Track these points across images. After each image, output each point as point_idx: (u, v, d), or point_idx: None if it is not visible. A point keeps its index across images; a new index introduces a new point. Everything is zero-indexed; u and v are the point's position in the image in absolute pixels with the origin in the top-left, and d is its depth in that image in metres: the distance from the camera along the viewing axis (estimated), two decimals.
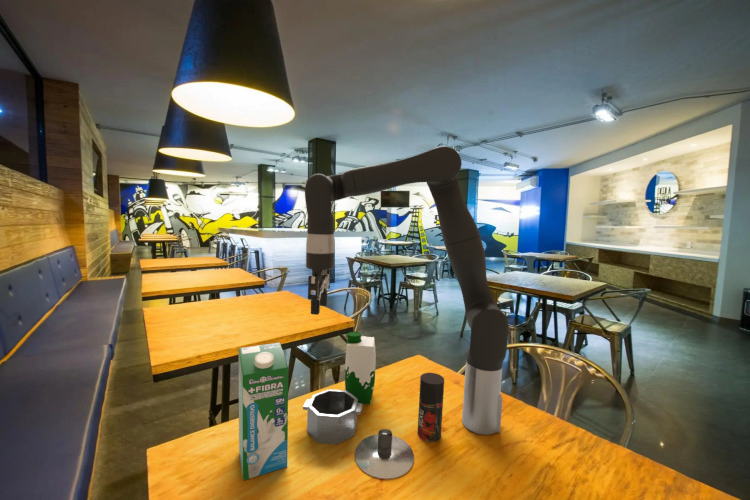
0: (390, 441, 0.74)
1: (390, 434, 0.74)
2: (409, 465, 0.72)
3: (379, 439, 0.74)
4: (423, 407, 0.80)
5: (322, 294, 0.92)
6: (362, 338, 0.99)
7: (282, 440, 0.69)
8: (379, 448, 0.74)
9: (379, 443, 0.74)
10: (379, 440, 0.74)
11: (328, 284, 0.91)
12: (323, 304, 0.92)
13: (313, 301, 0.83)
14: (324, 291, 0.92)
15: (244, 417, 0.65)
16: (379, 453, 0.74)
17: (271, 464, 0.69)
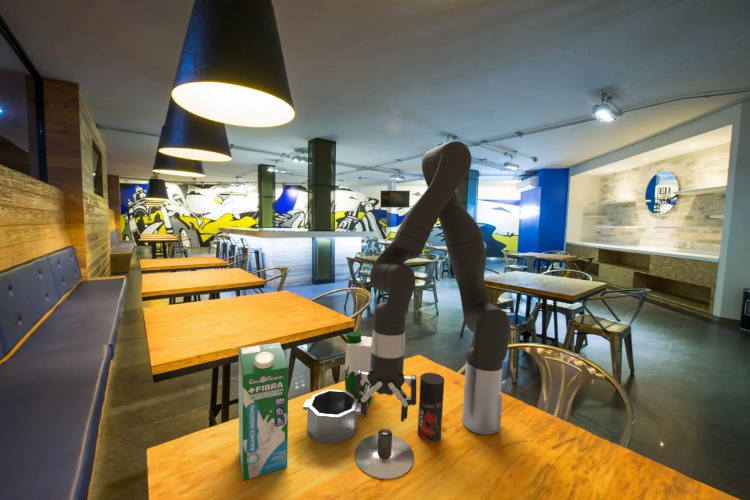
0: (390, 441, 0.74)
1: (390, 434, 0.74)
2: (409, 465, 0.72)
3: (379, 439, 0.74)
4: (423, 407, 0.80)
5: (367, 402, 0.74)
6: (362, 338, 0.99)
7: (282, 440, 0.69)
8: (379, 448, 0.74)
9: (379, 443, 0.74)
10: (379, 440, 0.74)
11: None
12: None
13: None
14: None
15: (244, 417, 0.65)
16: (379, 453, 0.74)
17: (271, 464, 0.69)
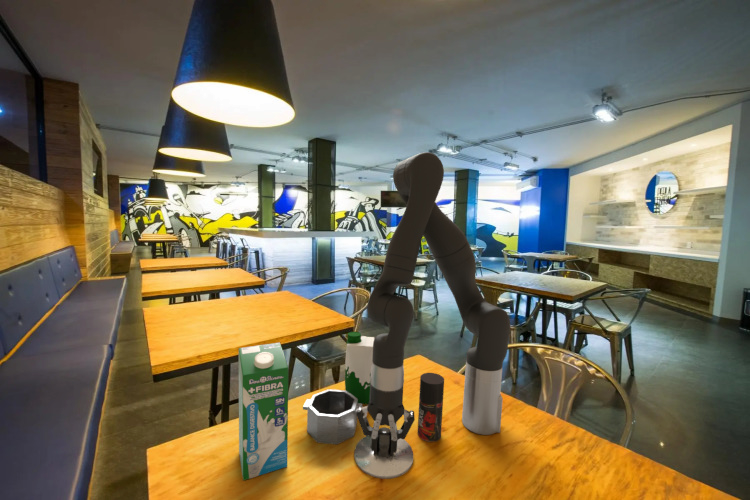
0: (390, 439, 0.74)
1: (390, 432, 0.74)
2: (409, 463, 0.72)
3: (379, 437, 0.74)
4: (423, 407, 0.80)
5: (377, 438, 0.75)
6: (362, 338, 0.99)
7: (282, 440, 0.69)
8: (379, 446, 0.74)
9: (379, 441, 0.74)
10: (379, 438, 0.74)
11: None
12: None
13: None
14: (377, 433, 0.75)
15: (244, 417, 0.65)
16: (379, 451, 0.74)
17: (271, 464, 0.69)
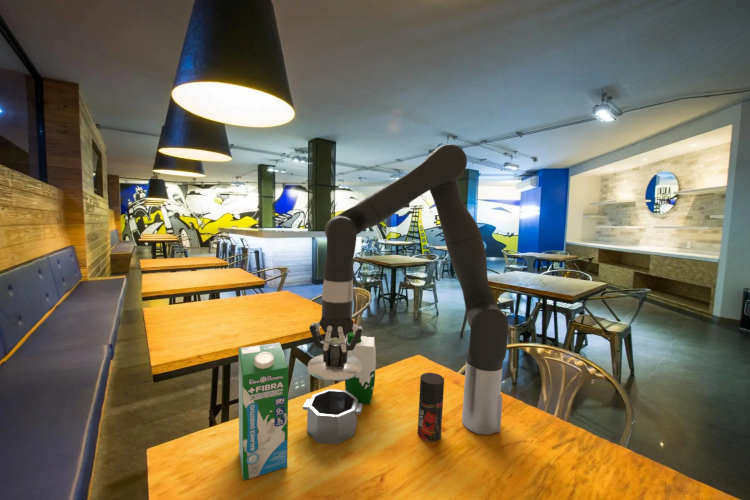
0: (340, 351, 0.80)
1: (340, 345, 0.81)
2: (356, 371, 0.79)
3: (330, 349, 0.81)
4: (423, 407, 0.80)
5: None
6: (362, 338, 0.99)
7: (282, 440, 0.69)
8: (330, 358, 0.81)
9: (330, 353, 0.81)
10: (330, 350, 0.80)
11: None
12: None
13: (347, 351, 0.81)
14: None
15: (244, 417, 0.65)
16: (330, 362, 0.81)
17: (271, 464, 0.69)
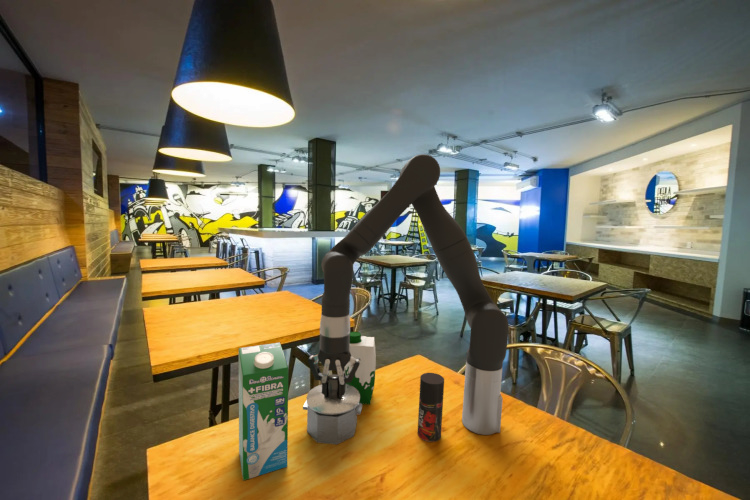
0: (338, 384, 0.82)
1: (338, 378, 0.83)
2: (353, 404, 0.80)
3: (328, 382, 0.82)
4: (423, 407, 0.80)
5: (327, 383, 0.83)
6: (362, 338, 0.99)
7: (282, 440, 0.69)
8: (328, 390, 0.82)
9: (328, 385, 0.82)
10: (328, 383, 0.82)
11: None
12: None
13: (345, 383, 0.83)
14: (327, 379, 0.84)
15: (244, 417, 0.65)
16: (328, 394, 0.82)
17: (271, 464, 0.69)
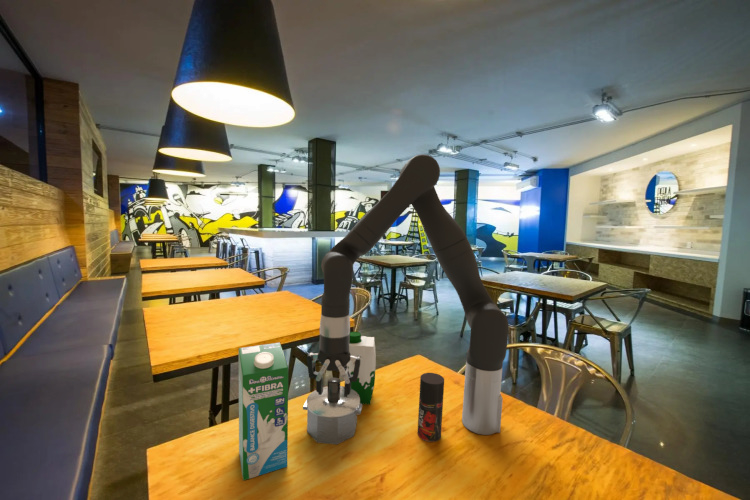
0: (338, 387, 0.82)
1: (338, 381, 0.83)
2: (354, 407, 0.80)
3: (328, 385, 0.82)
4: (423, 407, 0.80)
5: (322, 381, 0.83)
6: (362, 338, 0.99)
7: (282, 440, 0.69)
8: (328, 393, 0.82)
9: (328, 389, 0.82)
10: (328, 386, 0.82)
11: None
12: (322, 391, 0.84)
13: (350, 382, 0.82)
14: None
15: (244, 417, 0.65)
16: (328, 398, 0.82)
17: (271, 464, 0.69)
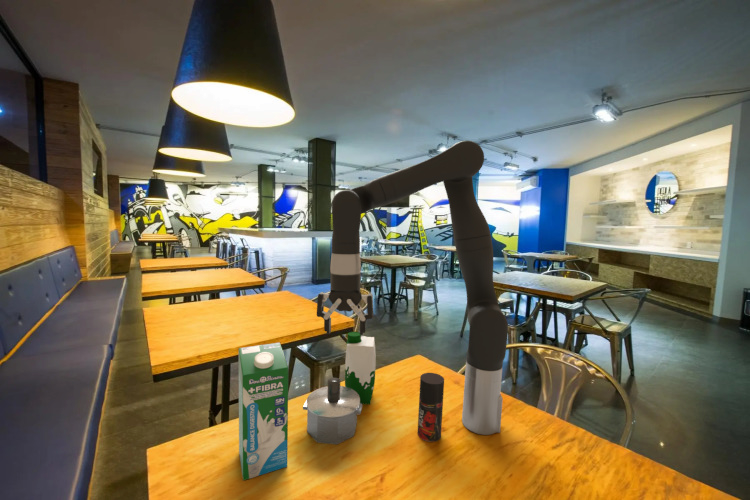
0: (338, 387, 0.82)
1: (338, 381, 0.83)
2: (354, 407, 0.80)
3: (328, 385, 0.82)
4: (423, 407, 0.80)
5: (329, 320, 0.83)
6: (362, 338, 0.99)
7: (282, 440, 0.69)
8: (328, 393, 0.82)
9: (328, 389, 0.82)
10: (328, 386, 0.82)
11: None
12: (330, 331, 0.83)
13: None
14: (329, 316, 0.83)
15: (244, 417, 0.65)
16: (328, 398, 0.82)
17: (271, 464, 0.69)
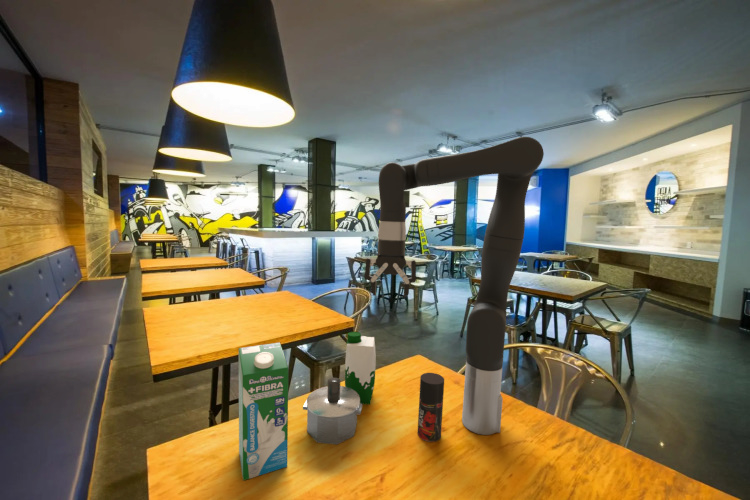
0: (338, 387, 0.82)
1: (338, 381, 0.83)
2: (354, 407, 0.80)
3: (328, 385, 0.82)
4: (423, 407, 0.80)
5: (375, 283, 0.91)
6: (362, 338, 0.99)
7: (282, 440, 0.69)
8: (328, 393, 0.82)
9: (328, 389, 0.82)
10: (328, 386, 0.82)
11: None
12: (375, 293, 0.91)
13: None
14: (375, 280, 0.91)
15: (244, 417, 0.65)
16: (328, 398, 0.82)
17: (271, 464, 0.69)
